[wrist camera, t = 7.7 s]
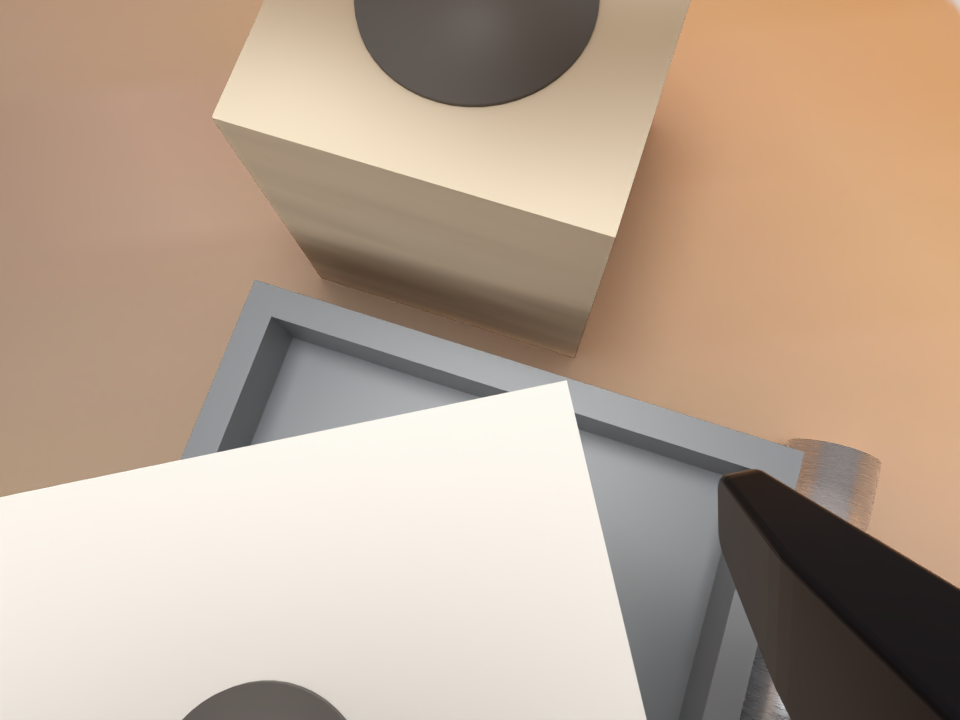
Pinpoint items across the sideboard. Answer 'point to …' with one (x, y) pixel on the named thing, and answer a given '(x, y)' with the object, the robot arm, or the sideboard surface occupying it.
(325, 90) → the birch block
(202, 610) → the cream block
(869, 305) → the sideboard surface
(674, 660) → the tray
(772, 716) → the cylinder
